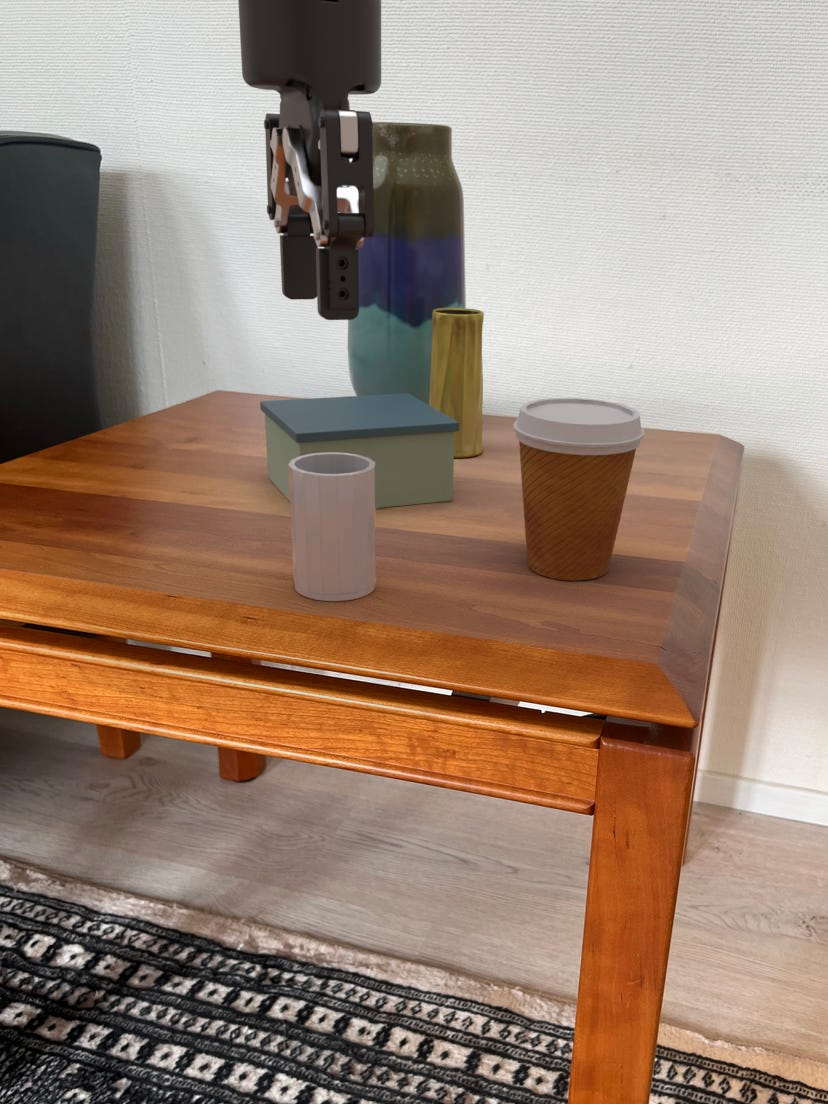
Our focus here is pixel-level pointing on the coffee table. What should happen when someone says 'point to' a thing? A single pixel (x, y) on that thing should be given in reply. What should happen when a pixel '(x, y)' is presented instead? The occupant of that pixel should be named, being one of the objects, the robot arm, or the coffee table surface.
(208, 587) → the coffee table surface
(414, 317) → the vase
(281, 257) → the robot arm
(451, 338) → the vase
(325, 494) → the cup
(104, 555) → the coffee table surface
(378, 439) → the container
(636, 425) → the disposable coffee cup
